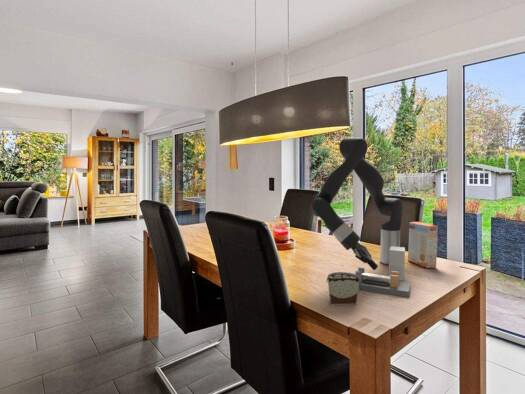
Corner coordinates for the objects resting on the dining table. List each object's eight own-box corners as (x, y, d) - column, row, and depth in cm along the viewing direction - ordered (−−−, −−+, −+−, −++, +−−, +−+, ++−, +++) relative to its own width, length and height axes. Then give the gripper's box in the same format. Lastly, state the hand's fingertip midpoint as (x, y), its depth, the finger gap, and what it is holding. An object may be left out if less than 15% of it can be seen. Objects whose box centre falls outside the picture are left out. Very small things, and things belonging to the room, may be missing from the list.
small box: (389, 273, 155) (390, 245, 153) (404, 275, 152) (405, 247, 151) (388, 279, 147) (389, 249, 146) (403, 280, 145) (404, 251, 144)
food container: (355, 297, 126) (356, 271, 125) (360, 304, 119) (361, 276, 119) (322, 298, 125) (323, 271, 124) (326, 304, 119) (326, 277, 118)
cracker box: (437, 268, 163) (438, 225, 162) (426, 269, 162) (427, 226, 160) (417, 260, 177) (418, 221, 175) (407, 261, 176) (408, 221, 174)
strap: (358, 271, 142) (396, 276, 135) (358, 275, 142) (396, 281, 136) (356, 273, 138) (395, 279, 131) (356, 278, 138) (395, 284, 132)
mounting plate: (345, 278, 148) (346, 263, 148) (410, 286, 137) (410, 271, 137) (339, 286, 138) (340, 271, 137) (408, 296, 126) (409, 280, 126)
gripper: (349, 233, 134) (381, 267, 129) (355, 227, 145) (384, 258, 141) (336, 245, 136) (366, 278, 132) (343, 238, 148) (371, 269, 144)
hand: (376, 268), depth 137 cm, fingers closed
